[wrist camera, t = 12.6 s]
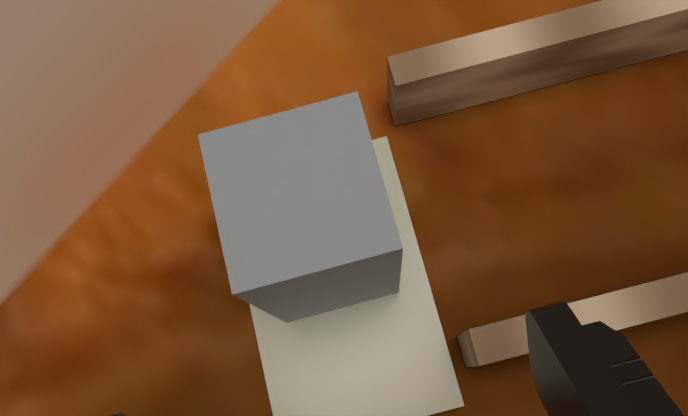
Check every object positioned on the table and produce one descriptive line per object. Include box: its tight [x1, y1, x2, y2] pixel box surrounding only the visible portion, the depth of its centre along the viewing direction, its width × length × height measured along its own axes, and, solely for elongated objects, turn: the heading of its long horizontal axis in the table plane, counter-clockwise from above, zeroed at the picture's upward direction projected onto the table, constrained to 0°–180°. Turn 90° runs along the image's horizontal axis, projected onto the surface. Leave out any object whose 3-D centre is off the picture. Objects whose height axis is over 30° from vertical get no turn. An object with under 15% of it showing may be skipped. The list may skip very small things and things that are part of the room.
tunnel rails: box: [387, 0, 688, 368], centre depth 24 cm, size 14×11×4 cm
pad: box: [249, 136, 464, 416], centre depth 26 cm, size 7×11×1 cm, turn 14°
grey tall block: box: [198, 92, 403, 323], centre depth 21 cm, size 4×4×9 cm
